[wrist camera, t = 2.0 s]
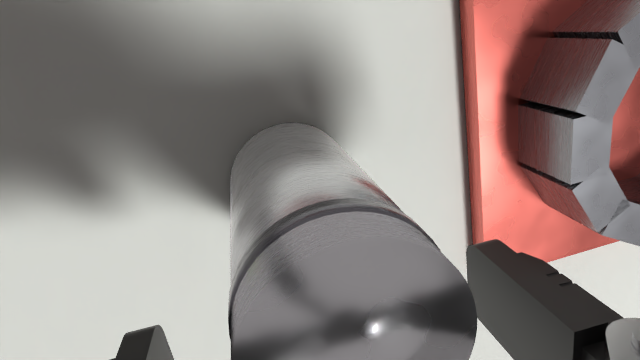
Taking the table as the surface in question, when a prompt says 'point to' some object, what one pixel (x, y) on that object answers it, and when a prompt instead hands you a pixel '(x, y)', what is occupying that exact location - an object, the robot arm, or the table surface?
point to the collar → (553, 123)
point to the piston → (333, 262)
